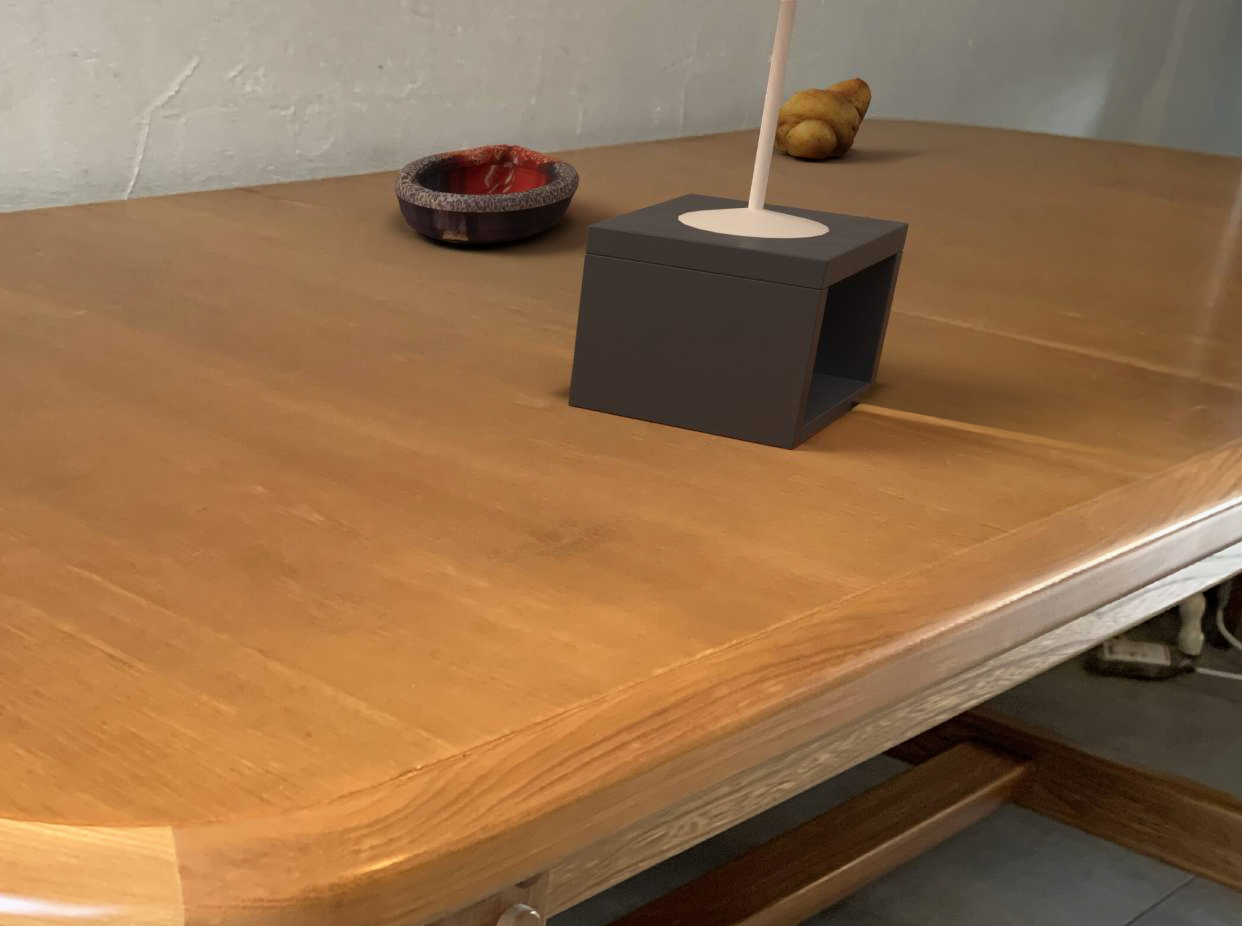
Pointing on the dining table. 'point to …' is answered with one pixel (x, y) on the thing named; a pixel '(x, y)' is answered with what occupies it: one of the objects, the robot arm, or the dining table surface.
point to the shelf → (733, 321)
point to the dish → (485, 194)
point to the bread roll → (822, 120)
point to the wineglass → (763, 162)
